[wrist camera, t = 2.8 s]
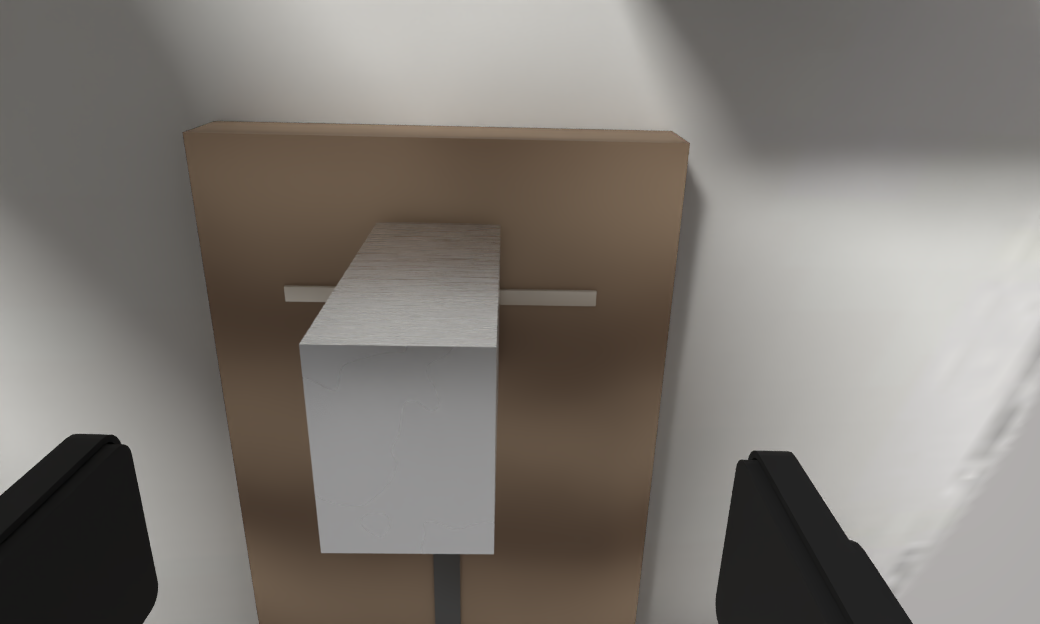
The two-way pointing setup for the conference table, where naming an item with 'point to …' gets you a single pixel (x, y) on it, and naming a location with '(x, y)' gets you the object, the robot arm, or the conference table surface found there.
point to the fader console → (522, 351)
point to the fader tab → (407, 393)
